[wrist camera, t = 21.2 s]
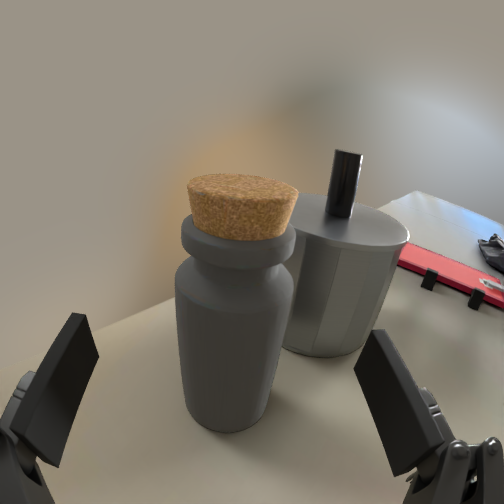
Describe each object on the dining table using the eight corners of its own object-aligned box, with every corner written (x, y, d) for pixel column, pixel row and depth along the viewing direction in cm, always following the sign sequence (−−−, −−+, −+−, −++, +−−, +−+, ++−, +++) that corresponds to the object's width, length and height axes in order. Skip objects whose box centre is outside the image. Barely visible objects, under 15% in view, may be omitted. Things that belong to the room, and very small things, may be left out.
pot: (228, 307, 28) (236, 206, 24) (303, 273, 36) (318, 194, 32) (327, 379, 21) (369, 266, 16) (386, 318, 29) (417, 231, 24)
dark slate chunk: (476, 262, 47) (483, 243, 45) (476, 241, 62) (481, 226, 60) (526, 288, 38) (535, 269, 36) (517, 261, 52) (522, 246, 50)
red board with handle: (538, 337, 23) (523, 298, 34) (547, 322, 22) (528, 285, 33) (385, 272, 39) (401, 247, 50) (390, 255, 38) (405, 233, 49)
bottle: (281, 395, 19) (332, 191, 13) (232, 448, 15) (260, 215, 8) (221, 359, 22) (233, 167, 15) (168, 399, 18) (145, 180, 11)
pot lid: (229, 212, 24) (236, 135, 21) (316, 198, 33) (325, 143, 30) (369, 279, 16) (398, 170, 13) (420, 238, 24) (436, 173, 22)
